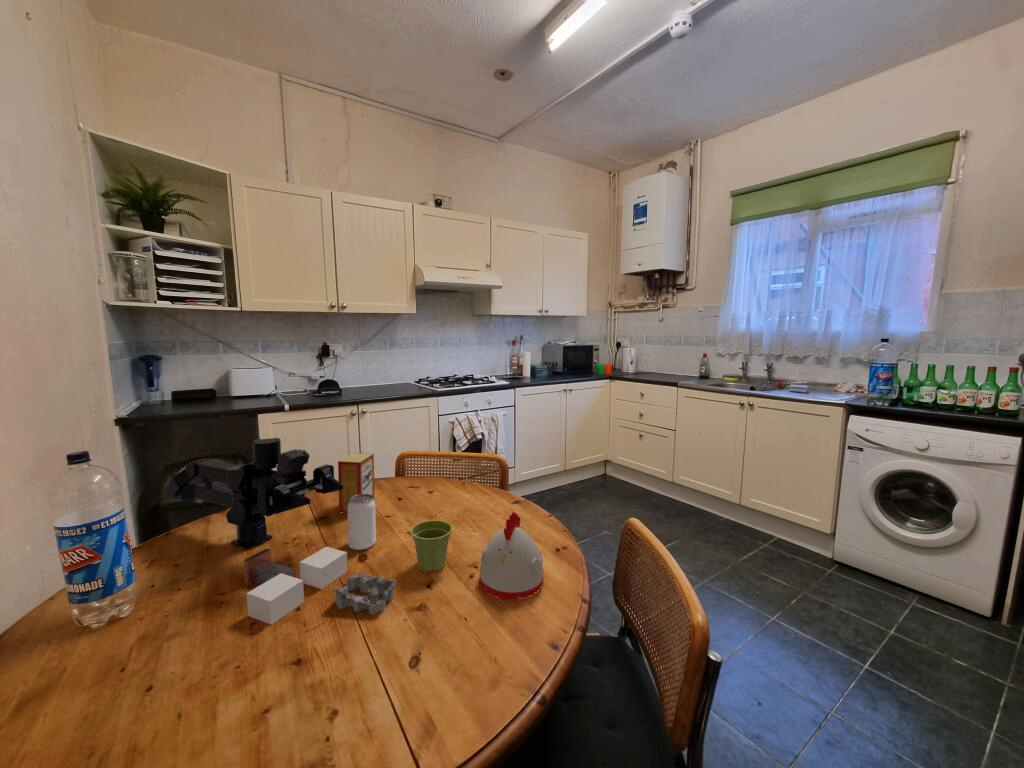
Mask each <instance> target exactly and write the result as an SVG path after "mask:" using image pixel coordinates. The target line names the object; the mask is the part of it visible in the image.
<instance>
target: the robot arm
mask: <svg viewBox="0 0 1024 768" xmlns="http://www.w3.org/2000/svg"><path fill="white" fill-rule="evenodd" d="M281 445H282V444H281V438H279V437H272V438H262V439H261V438H257V439H253V440H251V447H252V458H253V460H252V462H249V463H246V464H241V465H240V464H238V465H237V464H233V463H228V462H223V461H217V460H213V459H212V458H201V459H198V460H193V461H191V462H189V463H187V464H186V466H184V467H185V468H183V469H182V470H181V471H179V472H178V473H176V474H175V475H174V476H172V477H171V479H170V480H169V481H168V483H167V485H166V487H165V492H166V495H167V496H168V497H169V498H170V500H172V501H179V502H181V501H183V502H184V501H188V500H193V499H194V500H195V499H197V500H201V501H204V502H209V503H213V504H217V505H221V506H224V507H229V508H230V509H229V510H228V511H227V512H226V513H225V518H226V521H227V523H228V524H232V525H235V526H236V539H234V540H232V541H231V542H230V544H231V545H234V546H236V547H239V548H243V549H245V550H249V549H253V548H255V547H256V546H258V545H260V544H262V543H264V542H267V541H268V540H270V539H272V538H273V535H271V534H269V533H268V532H267V524H266V523H267V522H266V520H267V519H266V517H268V518H269V517H272V516H273V515H279V514H281V513H285V512H287V511H291V510H293V509H298V508H301V507H303V506H307V505H310V504H311V503H312V501H311V498H310V497H308V496H306V493H309V492H311V491H315V493H318V494H322V495H324V494H329V493H333V492H339V490H342V489H343V485H342V484H341V483H340V482H339V480H337V479H336V478H335V466H333V465H332V464H324V465H321V466H318V467H315V468H314V469H313V471H312V478H311V479H310V480H307V478H306V476H307V470H303V469H304V465H306V464H308V462H309V459H310V454H309V452H307V451H306V449H296V448H295V449H291V450H288V451H285V452H282V450H281V449H282V446H281ZM275 469H276V470H275ZM213 481H214V482H213ZM219 482H220V483H219ZM222 483H223V484H222ZM267 533H268V534H267Z"/></svg>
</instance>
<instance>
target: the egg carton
mask: <svg viewBox="0 0 1024 768" xmlns="http://www.w3.org/2000/svg"><path fill="white" fill-rule="evenodd" d="M396 581H397V578H388V579H386V578H385V577H384V578H382V577H381V576H374V575H368V574H364V573H363V572H358V573H356V574H353V575H352V576H351V577H350V578H347V580H346V581H345V582H343V583H342V584H341V588H340V589H339V586H337V587H336V588H335V587H333V588H332V589H331V592H333V591H334V592H335V593H334V594H335V595H334V596H335V603H334V604H335V605H337V609H339V610H343V609H345V608H348V607H349V608H350V607H351V608H352V611H353V612H360V611H362V610H368V611H369V613H368V614H369V615H376V614H379V613H382V612H385V610H386V602H390V601H393V599H394V598H395V588H394V586H395V584H396ZM356 589H360V592H361V593H363V594H366V596H365V597H363V595H355V594H351V593H350V591H355V590H356ZM380 596H382V597H381V599H382V600H380Z"/></svg>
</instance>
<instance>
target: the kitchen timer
mask: <svg viewBox="0 0 1024 768" xmlns="http://www.w3.org/2000/svg"><path fill="white" fill-rule="evenodd" d="M520 525H521V517H520V516H519V514H517V512H514V511H513V512H511V514H509V517H508V519H506V521H505V528H504V527H503V529H500V531H497V533H496V534H495V535H494V536H493V537H492V538H491V540H490V541H489V543H488V545H487V546H486V547H485V546H484V547H483V549H482V553H481V558H480V561H481V563H480V567H479V584H481V585H480V586H482V587H481V589H482V588H483V589H484V590H483V589H482V590H483V591H484V592H485V593H487V592H488V593H490V594H492V595H494V596H497V597H500V598H505V599H519V598H525V597H528V596H530V595H533V594H534V593H535V592H537V591H538V590H539V589H540V587H541V586H542V584H543V585H544V582H543V580H544V577H545V576H544V575H545V573H544V568H543V566H544V565H543V564H544V563H543V554H542V549H539V550H538V547H537V545H536V543H535V541H534V540H533V539H532V537H531V536H530V534H528V533H527V531H525V530H524V529H523V528H520ZM542 587H543V586H542ZM540 590H541V589H540ZM488 593H487V594H488ZM490 594H489V595H490ZM492 595H491V596H492ZM494 596H493V597H494ZM533 596H534V595H533ZM500 598H499V599H500ZM528 598H529V597H528ZM525 599H526V598H525ZM519 600H520V599H519Z"/></svg>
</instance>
